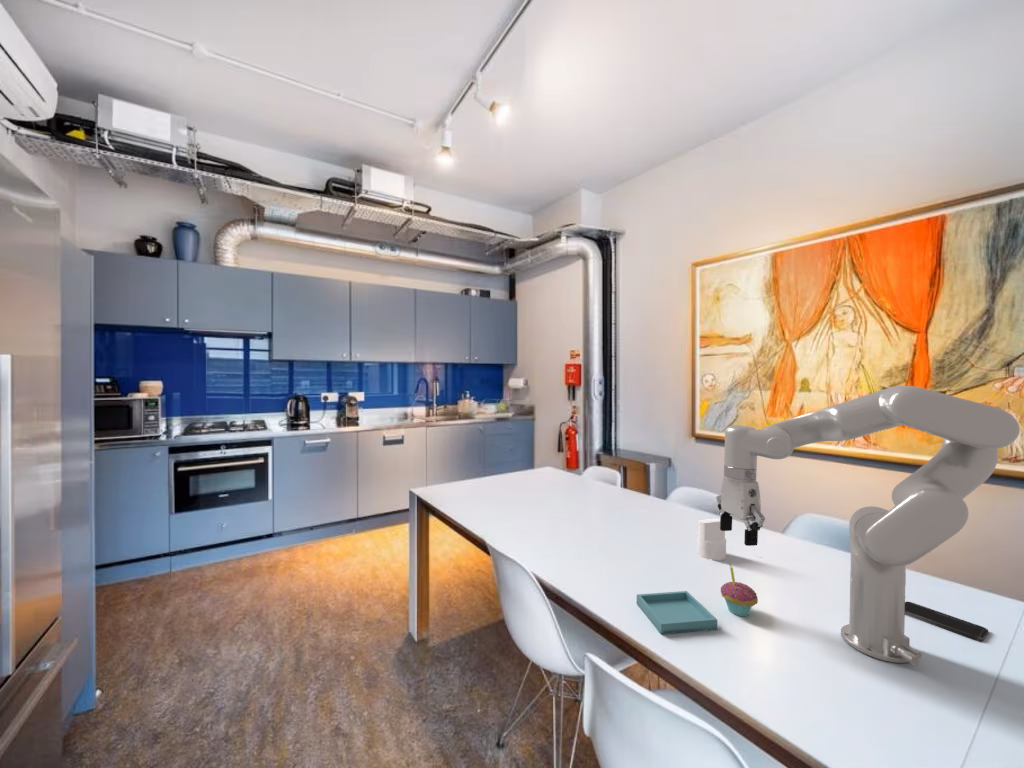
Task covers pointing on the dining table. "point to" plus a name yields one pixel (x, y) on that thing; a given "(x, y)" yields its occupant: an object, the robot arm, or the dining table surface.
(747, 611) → the cupcake
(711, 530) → the base with upright slab
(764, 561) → the dining table surface
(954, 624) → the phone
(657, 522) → the dining table surface
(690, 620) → the tray
